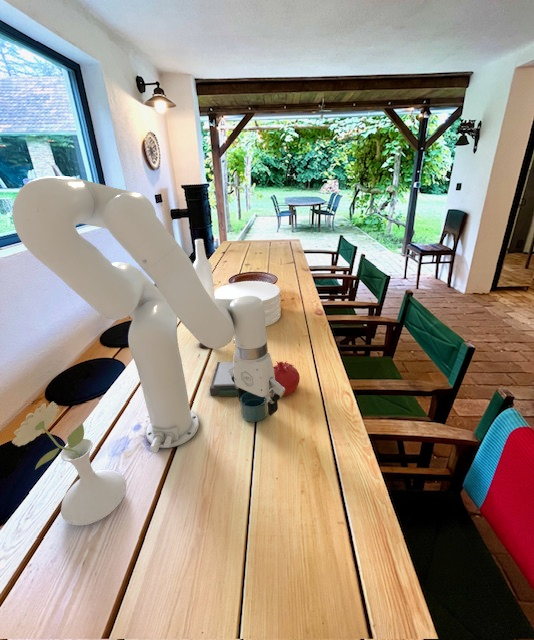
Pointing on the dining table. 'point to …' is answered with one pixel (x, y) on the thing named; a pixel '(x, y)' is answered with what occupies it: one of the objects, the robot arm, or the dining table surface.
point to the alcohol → (204, 268)
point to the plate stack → (258, 289)
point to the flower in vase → (93, 486)
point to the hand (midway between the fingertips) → (258, 405)
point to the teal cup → (253, 407)
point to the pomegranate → (286, 377)
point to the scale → (223, 380)
